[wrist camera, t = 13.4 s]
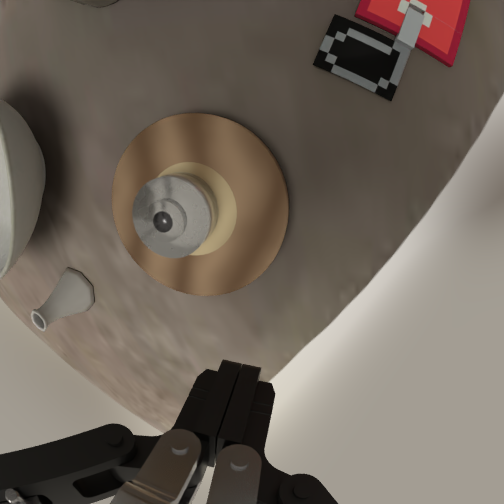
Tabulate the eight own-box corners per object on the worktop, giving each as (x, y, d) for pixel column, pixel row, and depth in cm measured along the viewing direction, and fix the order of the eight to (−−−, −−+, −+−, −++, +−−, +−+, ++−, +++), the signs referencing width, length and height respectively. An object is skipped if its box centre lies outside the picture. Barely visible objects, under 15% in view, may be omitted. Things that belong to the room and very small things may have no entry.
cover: (151, 242, 34) (130, 257, 29) (147, 171, 30) (123, 178, 26) (218, 249, 32) (204, 267, 28) (219, 172, 29) (203, 180, 25)
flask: (92, 316, 44) (55, 352, 35) (60, 292, 44) (22, 322, 35) (99, 284, 41) (57, 319, 32) (65, 259, 41) (21, 288, 32)
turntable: (126, 267, 39) (115, 276, 36) (127, 112, 31) (114, 112, 29) (274, 300, 36) (271, 312, 34) (302, 124, 28) (301, 123, 26)
